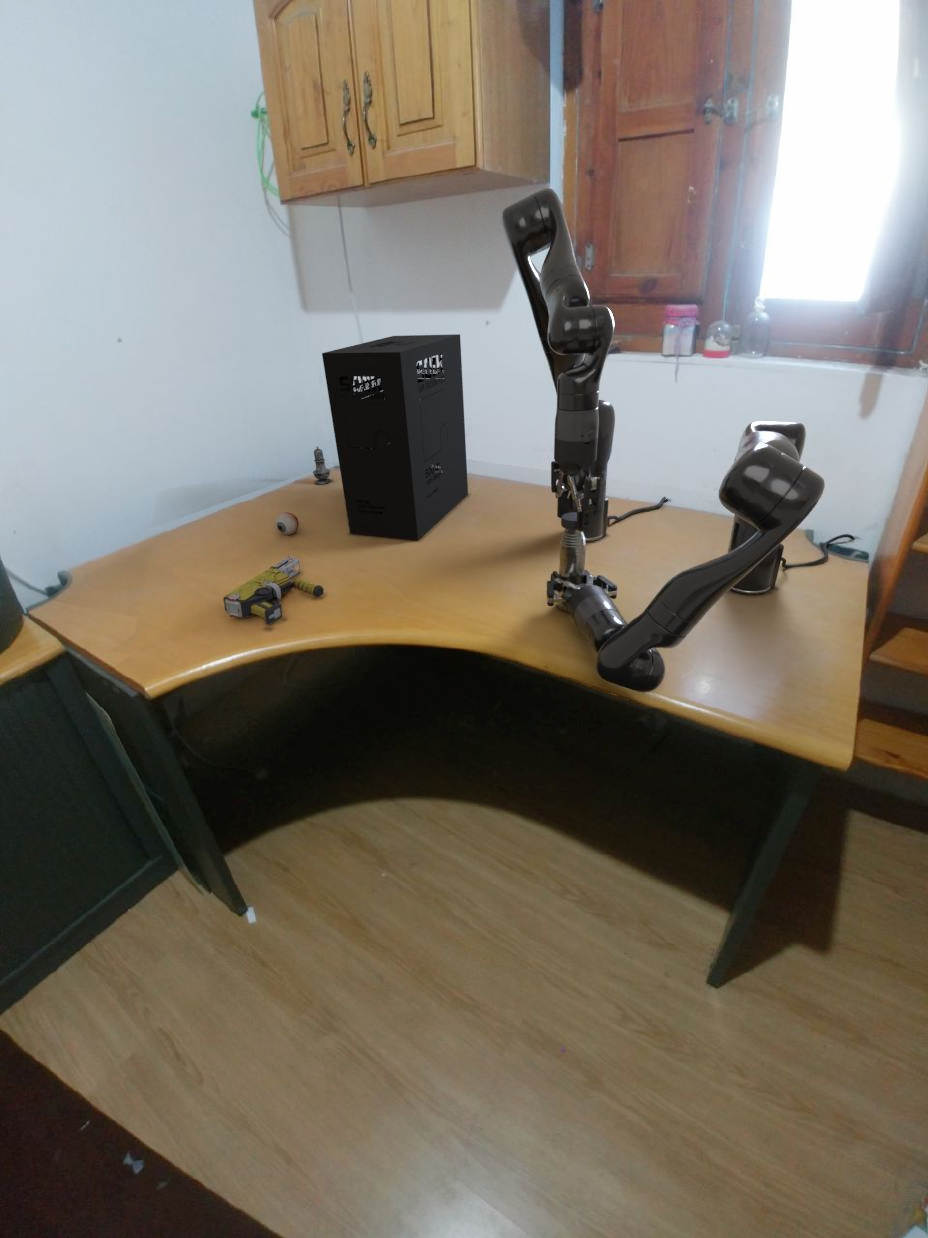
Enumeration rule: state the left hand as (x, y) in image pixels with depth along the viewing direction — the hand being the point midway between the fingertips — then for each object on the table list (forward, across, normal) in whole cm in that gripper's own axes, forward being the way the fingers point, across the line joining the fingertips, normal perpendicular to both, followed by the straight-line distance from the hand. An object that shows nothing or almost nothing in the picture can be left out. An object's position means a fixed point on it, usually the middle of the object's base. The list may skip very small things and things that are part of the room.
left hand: (572, 523), depth 114 cm
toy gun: (+18, -29, -53) cm, 63 cm away
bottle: (+18, 0, 0) cm, 18 cm away
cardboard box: (+18, -68, -13) cm, 72 cm away
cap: (-1, 0, 0) cm, 1 cm away
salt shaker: (+18, -113, -33) cm, 119 cm away
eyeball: (+18, -68, -49) cm, 86 cm away
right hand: (+12, -2, +1) cm, 12 cm away
